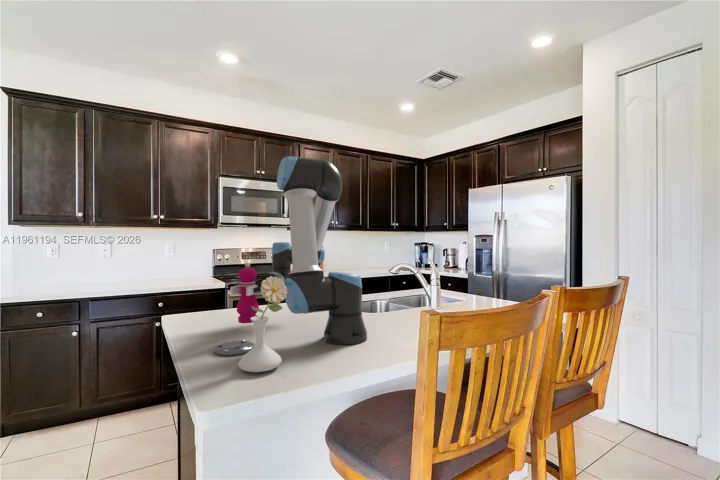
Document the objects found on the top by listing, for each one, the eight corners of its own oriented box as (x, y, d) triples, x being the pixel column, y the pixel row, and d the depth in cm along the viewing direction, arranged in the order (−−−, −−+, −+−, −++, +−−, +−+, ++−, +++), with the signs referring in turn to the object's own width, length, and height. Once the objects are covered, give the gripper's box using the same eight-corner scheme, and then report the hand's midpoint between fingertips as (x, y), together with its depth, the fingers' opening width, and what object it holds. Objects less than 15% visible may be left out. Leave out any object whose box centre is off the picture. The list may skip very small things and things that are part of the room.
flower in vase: (240, 379, 89) (239, 280, 89) (236, 364, 100) (235, 275, 99) (291, 371, 94) (291, 277, 94) (283, 358, 105) (282, 273, 105)
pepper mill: (243, 318, 126) (243, 262, 125) (262, 319, 124) (262, 262, 124) (232, 323, 118) (232, 263, 118) (252, 324, 117) (252, 263, 117)
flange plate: (260, 345, 117) (260, 340, 117) (242, 357, 106) (242, 352, 106) (227, 343, 119) (227, 338, 119) (205, 355, 108) (205, 349, 108)
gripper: (292, 292, 137) (264, 303, 114) (250, 291, 141) (214, 302, 118) (292, 273, 137) (264, 280, 114) (249, 272, 141) (214, 279, 118)
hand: (239, 291), depth 116 cm, fingers closed on pepper mill, 5 cm apart
